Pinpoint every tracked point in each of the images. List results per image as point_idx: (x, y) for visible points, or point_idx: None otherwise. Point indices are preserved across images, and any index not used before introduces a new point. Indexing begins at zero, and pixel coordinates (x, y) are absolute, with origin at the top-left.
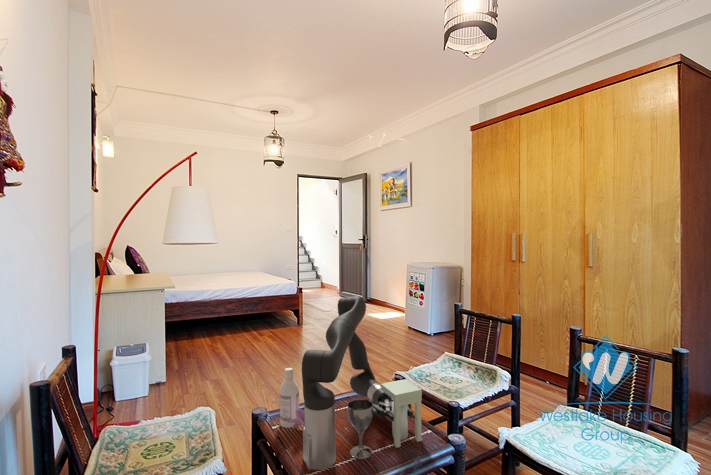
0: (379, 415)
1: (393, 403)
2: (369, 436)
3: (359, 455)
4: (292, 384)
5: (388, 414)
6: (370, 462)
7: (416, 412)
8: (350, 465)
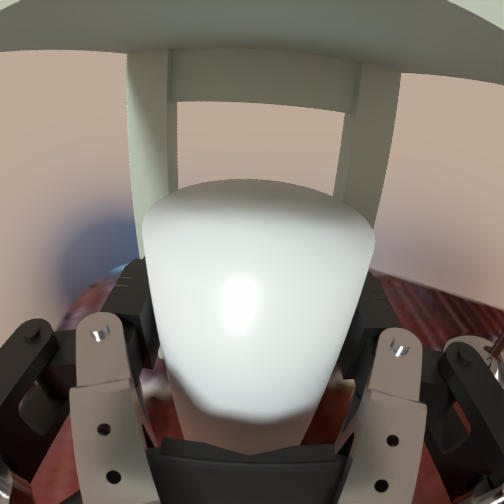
0: (458, 417)
1: (350, 241)
2: (442, 484)
3: (486, 342)
4: None
5: (393, 325)
6: (446, 311)
7: (174, 188)
8: (500, 317)
